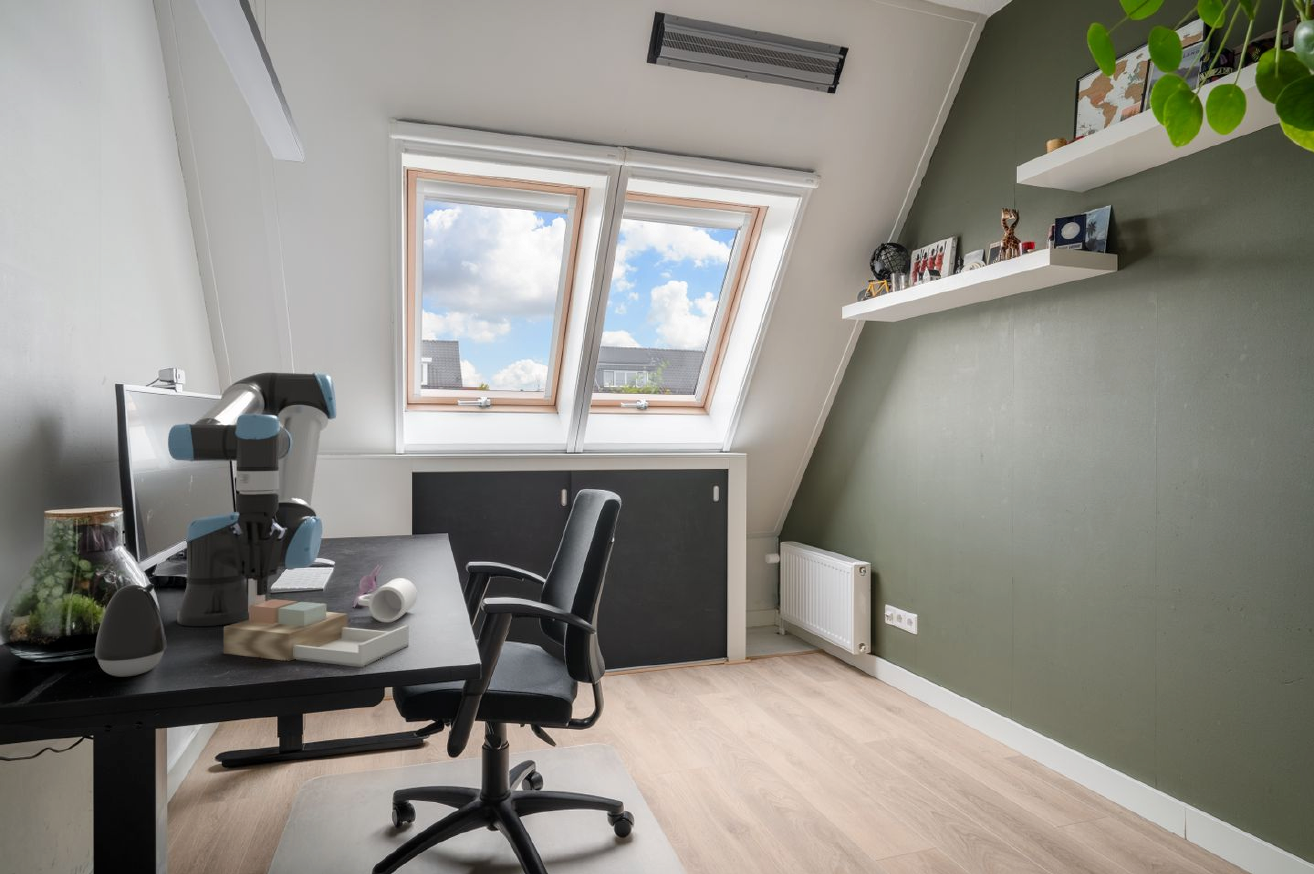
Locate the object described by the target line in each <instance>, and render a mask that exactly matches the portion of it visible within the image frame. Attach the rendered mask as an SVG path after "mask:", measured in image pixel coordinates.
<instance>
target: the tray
mask: <svg viewBox="0 0 1314 874" xmlns="http://www.w3.org/2000/svg"><path fill="white" fill-rule="evenodd" d="M409 627H410V625H402V626H401V627H398V628H396V629H394V630H391V631H387V630H376V629H367V628H358V627H348V628H347V627H344V628H342V638H341V639H338V640H335V641H333V642H330V643H327V644H325V645H322V646H320V647H313V646H304V645H294V646H293V659H292V660H294V659H296V661H305V662H313V663H314V662H315V663H322V664H331V665H339V666H340V665H341V666H348V667H358V668H364V667H365V665H366V666H368V665H370V664H372V663H374V661H375V662H377V661H379V660H381V659H383V658H386V657H387V656H390V655H392V654H394V652H395V653H397V652H399V651H401V650H403V649H405V648H404V647H406V648H407V647H410V646H409V632H410V629H409ZM402 648H403V649H402ZM400 649H401V650H400ZM398 650H399V651H398ZM396 651H397V652H396ZM382 657H383V658H382ZM380 658H381V659H380ZM378 659H379V660H378ZM376 660H377V661H376Z"/></svg>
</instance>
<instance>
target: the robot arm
mask: <svg viewBox="0 0 1314 874" xmlns="http://www.w3.org/2000/svg"><path fill="white" fill-rule="evenodd" d="M335 393H336V392H335V388H334V382H333V378H332V377H331V376H330V375H328V374H324V373H316V372H312V373H295V372H294V373H293V372H292V373H290V372H263V373H262V372H261V373H257V374H253V375H249V376H247V377H244V378H242V379H240V380H238V381H235V382H234V383H233V384H231V385H229V386H228V387H227V388H226V389H225V390H224V391H223V393H222V395H221V398H220V400H219V401H218V402H217V403H216V404H215V405H214V406H213V407H211V408H210V409H209V411H207V412H206V413H205V414H204V415H202V417H200V418H199V419H198V420H197V421H196V422H194V423H184V424H181V423H180V424H175V425H173V426H172V427H171V428H170V430H169V432H168V437H167V448H168V451H169V452H168V453H169V455H170V456H171V458H172V459H173V460H174V461H184V462H185V461H187V462H188V461H190V462H218V461H220V462H223V461H224V462H226V461H227V462H229V461H231V462H233V461H234V462H235V461H236V462H235V463H236V470H235V472H236V473H235V474H236V475H235V476H236V477H235V480H236V481H235V490H236V491H237V492H239V493H237V494H236V495H235V512H226V513H220V514H219V513H218V514H214V515H213V514H212V515H207V516H202V517H199V518H195V519H193V520H191V521H190V522H189V523H188V525H187V533H186V534H187V535H186V537H187V538H186V540H185V543H186V588H185V591H184V594H183V597H182V601H181V604H180V608H178V611H177V615H176V616H177V620H176V621H177V624H179V625H182V626H186V627H187V626H188V627H215V626H222V625H229V624H230V625H231V624H235V623H239V622H242V621H246V620H249V606H250V605H254V604H257V603H261V602H265V601H266V595H268V578H269V577H271V576H275V575H277V572H278V570H289V571H291V570H294V569H295V570H296V569H306V568H309V567H311V566H312V565H313V564H314V563H315V561H316V560H317V557H318V555H319V551H320V548H321V545H322V535H323V523H322V519H321V518H320V517H319V516H317V513H316V511H315V510H314V508H312V507H311V505H312V504H311V503H312V497H313V489H314V481H315V476H316V475H315V474H316V468H317V467H316V466H317V460H318V452H319V445H320V437H321V431H323V430H324V429H325V428H327V426H328V424H329V420H334V419H336V418H337V403H336V394H335ZM280 425H281V426H280Z"/></svg>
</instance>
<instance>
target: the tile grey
mask: <svg viewBox="0 0 1314 874" xmlns="http://www.w3.org/2000/svg"><path fill="white" fill-rule="evenodd" d="M326 612H327V603H321V602H320V603H319V602H309V601H308V602H307V601H299V602H297V603H295V604H292V605H289V606H285V607H282V608H278V624H283V625H293V626H307V625H310V624H313V623H316V622H319V621H322V620H325V619H326Z"/></svg>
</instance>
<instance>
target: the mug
mask: <svg viewBox="0 0 1314 874" xmlns="http://www.w3.org/2000/svg"><path fill="white" fill-rule="evenodd" d="M417 600H418V590H417V588H416V585H415V584H414V582H412V581H410V580H409V579H407V578H403V577H401V578H400V577H399V578H397V577H396V578H393V579H392V580H390V581H388V582H387V583H385V584H383V585H382V586H380V587H377V590H375V591H372V592H371V593H367V594H365V595H362V596H360V597H359V598H358V600H357V604H358V605H360V606H363V607H368V611H369V612H370V615H371V616H372V617H373V618H374V619H375V620H377V621H378V622H381V623H393V622H395V621H397V620H398V619H400V618H401V617H402V616H403V615H405V614H406V613H407V612H409V611H410V610H411V609H412V608H413V607H414V606H415V604H416V602H417Z"/></svg>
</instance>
